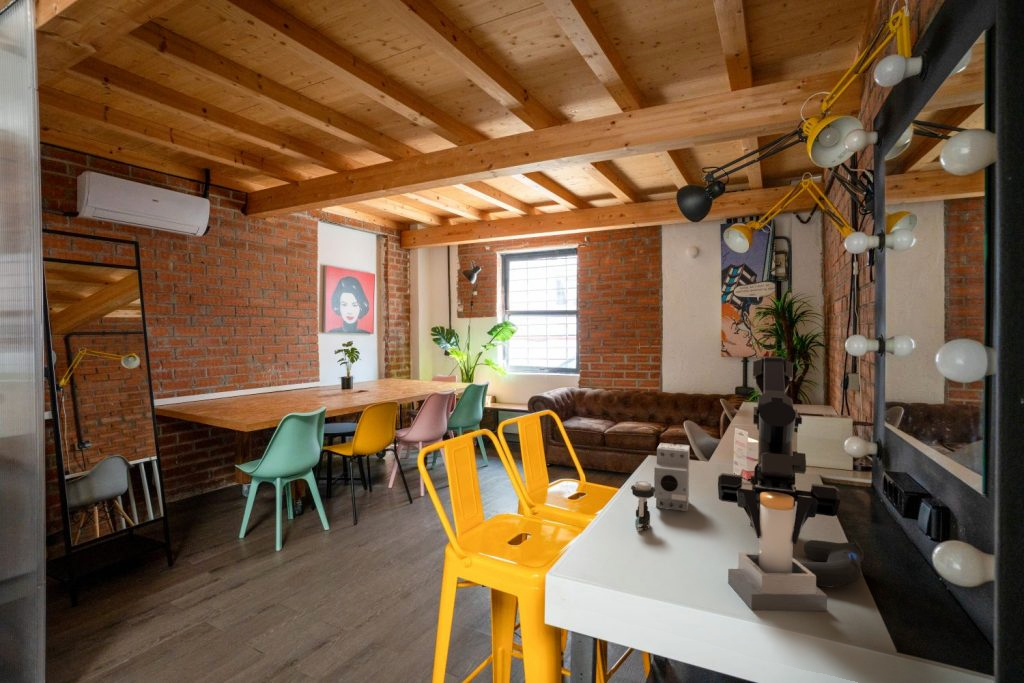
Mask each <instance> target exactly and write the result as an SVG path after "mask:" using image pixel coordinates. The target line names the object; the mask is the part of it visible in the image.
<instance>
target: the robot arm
mask: <svg viewBox="0 0 1024 683" xmlns="http://www.w3.org/2000/svg"><path fill="white" fill-rule="evenodd" d="M760 358H761V359H757V360H754V361H752V380H755V388H756V390H757V392H758V393H759V395H760V396H759V395H758V397H757V406H753V421H752V423H753V425H756V426H757V427H756V429H757V431H758V438H757V439H758V440H757V441H758V463H757V465H756V466H755V468H754V476H751V480H750V481H747V480H746V481H744V480H743V478H742V475H736V474H734V473H724V472H721V473H720V474H719V475H718V478H717V479H718V480H717V492H718V493H717V495H718V500H719V501H721V502H726V503H727V502H728V503H732V504H733V503H734V504H735V503H736V504H737V507H738V508H741V509H743V510H744V511H745V514H746V515H747V517H748V518H749V520H750V522H749V524H750V526H751V527H752V529H753V531H754V534H755V536H756V538H757V539H759V538H760V494H761V493H762V492H779V493H784V494H787V495H790V496H792V497H793V498H794V507H795V508H796V509H795V515H794V522H793V545H796V544H797V542H798V540H799V537H800V534H801V532H802V529H803V526H804V525H805V524H806V522H807V520H808V519H809V518H812V519H813V518H815V517H816V515H821V516H825V517H826V516H828V517H836V516H837V515H838V513H839V512H838V511H839V509H840V503H841V494H840V493H841V492H840V490H839V488H837V487H836V486H834V485H825V484H818V483H811V487H810V491H807V490H800V489H797V487H796V486H795V485H796V474H800V475H801V474H802V475H805V474H806V472H807V459H806V456H807V455H806V453H804V452H803V453H802V452H793V439H794V435H795V428H799V425H802V424H803V417H802V415H800V413H799V412H798V410H797V409H795V408H794V404H793V399H792V398H791V397H790V396H788V395H787V394H786V393H787V391H788V389H789V385H790V381H791V382H792V381H793V378H794V376H793V375H794V374H793V372H794V370H793V369H794V363H793V362H791V361H790V360H787V358H786V357H784V356H766V355H765V356H764V357H760Z"/></svg>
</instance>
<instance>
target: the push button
mask: <svg viewBox="0 0 1024 683" xmlns="http://www.w3.org/2000/svg"><path fill="white" fill-rule="evenodd" d="M630 489H631V490H632V491H631V493H632V496H635V498H637V499H638V506H637V508H636V509H635V517H636V518H635V527H636V529H635V530H636V531H638V532H641V531H642V530H644V531H646V529H647V528H648V529H650V525H651V512H650V510H649V506H648V500H649V499H651V498H654V492H655V488H654V486H652V483H651V482H648V481H643V480H642V481H641V480H639V481H635V484H633V485H631V486H630ZM647 525H648V526H647ZM645 528H646V529H645ZM637 529H638V530H637Z"/></svg>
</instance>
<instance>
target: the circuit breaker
mask: <svg viewBox="0 0 1024 683" xmlns="http://www.w3.org/2000/svg"><path fill="white" fill-rule="evenodd" d="M690 447H691V446H690V445H688V444H677V443H676V444H674V443H667V442H665V443H664V442H660V443H659V445H658V446H657V448H656V464H655V466H654V477H653V480H654V483H653V487H654V488H655V492H654V496H653V498H654V499H655V508H657V507H662V508H661V509H665V508H668V509H667V510H673V509H674V510H675V511H680V510H681V511H682V512H688V510H689V509H688V507H689V503H690V499H689V497H690V461H691V460H690V451H691V450H690Z"/></svg>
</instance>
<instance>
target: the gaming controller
mask: <svg viewBox="0 0 1024 683" xmlns="http://www.w3.org/2000/svg"><path fill="white" fill-rule="evenodd" d="M852 540H853V542H849V541H848V542H833V541H825V540H817V539H816V540H815V539H809V540H807V541H806V542H805V543H804V546H803V551H804V553H805V555H806V556H807V557H808V558H809V559H811V560H813V559H814V560H813V561H814V562H813V561H810V562H809V561H807V562H799V563H800V564H802V565H803V566H804V567H805V568H807V569H808V570H809V571H810V572H812V573H813V574H814V575H815V576H816V587H838V586H839V587H840V586H842V585H846V584H847V585H848V584H852V583H854V582H857V581H859V580H860V579H861V578H862V567H861V562H863V560H864V557H865V555H864V553H865V552H864V549H863V547H861V546H860V543H858V541H857V540H856V538H855V537H854V538H853V539H852ZM817 560H819V561H817ZM823 561H824V562H823Z"/></svg>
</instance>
